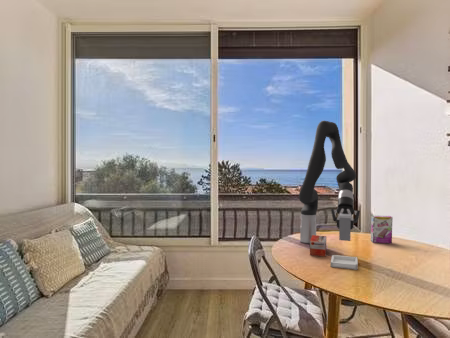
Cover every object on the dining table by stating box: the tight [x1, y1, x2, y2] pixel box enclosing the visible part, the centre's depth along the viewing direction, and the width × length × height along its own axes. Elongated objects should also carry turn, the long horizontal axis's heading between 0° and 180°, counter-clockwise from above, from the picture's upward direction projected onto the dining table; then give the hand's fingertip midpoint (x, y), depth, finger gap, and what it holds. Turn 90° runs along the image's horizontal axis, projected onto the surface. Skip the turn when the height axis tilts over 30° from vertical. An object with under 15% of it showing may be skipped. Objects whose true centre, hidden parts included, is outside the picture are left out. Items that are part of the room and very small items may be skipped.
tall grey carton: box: [338, 214, 351, 242], centre depth 161 cm, size 5×6×12 cm
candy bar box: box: [370, 214, 393, 244], centre depth 202 cm, size 11×5×16 cm, turn 84°
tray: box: [330, 254, 359, 270], centre depth 161 cm, size 12×13×2 cm
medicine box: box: [309, 234, 327, 257], centre depth 182 cm, size 15×8×8 cm, turn 161°
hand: (345, 228), depth 160 cm, fingers closed on tall grey carton, 5 cm apart
